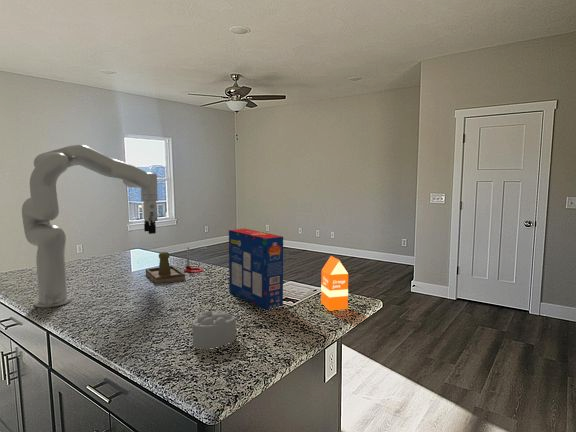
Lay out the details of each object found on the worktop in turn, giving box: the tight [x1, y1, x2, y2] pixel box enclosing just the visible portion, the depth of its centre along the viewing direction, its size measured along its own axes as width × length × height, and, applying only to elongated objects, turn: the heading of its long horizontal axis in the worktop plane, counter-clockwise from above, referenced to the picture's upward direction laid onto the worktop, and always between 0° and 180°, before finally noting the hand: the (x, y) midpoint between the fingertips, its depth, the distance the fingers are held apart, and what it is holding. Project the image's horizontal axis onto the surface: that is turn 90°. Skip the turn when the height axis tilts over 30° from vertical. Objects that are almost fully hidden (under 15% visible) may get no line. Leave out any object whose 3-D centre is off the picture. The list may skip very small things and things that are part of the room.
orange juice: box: [320, 255, 349, 311], centre depth 143 cm, size 8×9×20 cm
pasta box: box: [228, 228, 284, 311], centre depth 152 cm, size 28×8×28 cm, turn 39°
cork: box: [158, 251, 171, 275], centre depth 185 cm, size 6×6×11 cm
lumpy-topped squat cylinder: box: [191, 309, 237, 349], centre depth 113 cm, size 10×13×9 cm
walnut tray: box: [145, 265, 186, 285], centre depth 186 cm, size 20×14×3 cm
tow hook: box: [183, 247, 204, 274], centre depth 199 cm, size 8×13×9 cm
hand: (149, 232), depth 182 cm, fingers open, 9 cm apart
